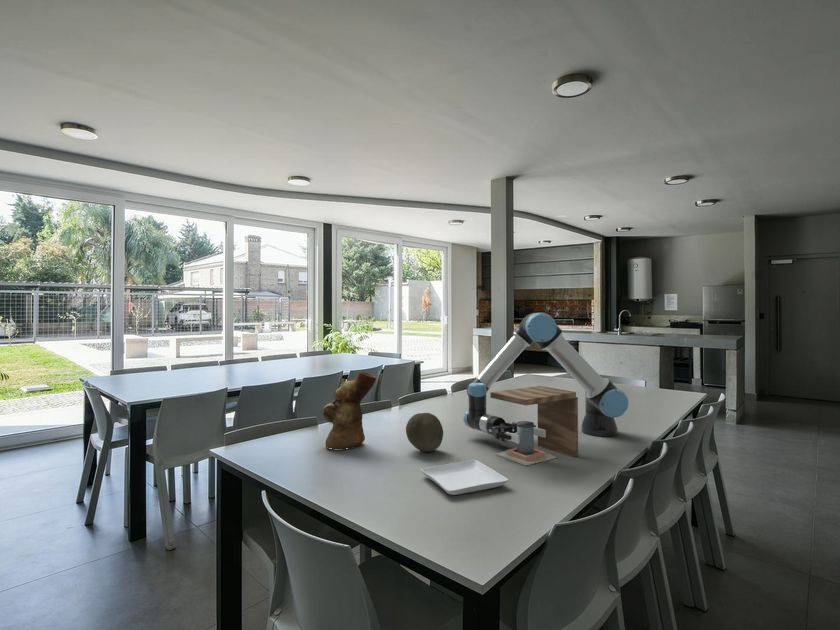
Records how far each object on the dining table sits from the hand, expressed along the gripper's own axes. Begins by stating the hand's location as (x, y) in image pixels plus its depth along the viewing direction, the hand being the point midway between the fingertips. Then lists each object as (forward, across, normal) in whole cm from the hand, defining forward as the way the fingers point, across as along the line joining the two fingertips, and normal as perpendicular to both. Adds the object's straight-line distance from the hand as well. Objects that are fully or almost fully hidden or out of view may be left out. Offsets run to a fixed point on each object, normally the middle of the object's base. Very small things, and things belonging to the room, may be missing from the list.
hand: (532, 436), depth 172 cm
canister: (-3, 0, -8) cm, 8 cm away
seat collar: (-3, 0, -8) cm, 9 cm away
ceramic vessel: (-54, +48, -8) cm, 73 cm away
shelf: (-1, -2, -8) cm, 8 cm away
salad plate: (+5, +36, -9) cm, 37 cm away
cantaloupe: (-29, +28, -8) cm, 41 cm away
